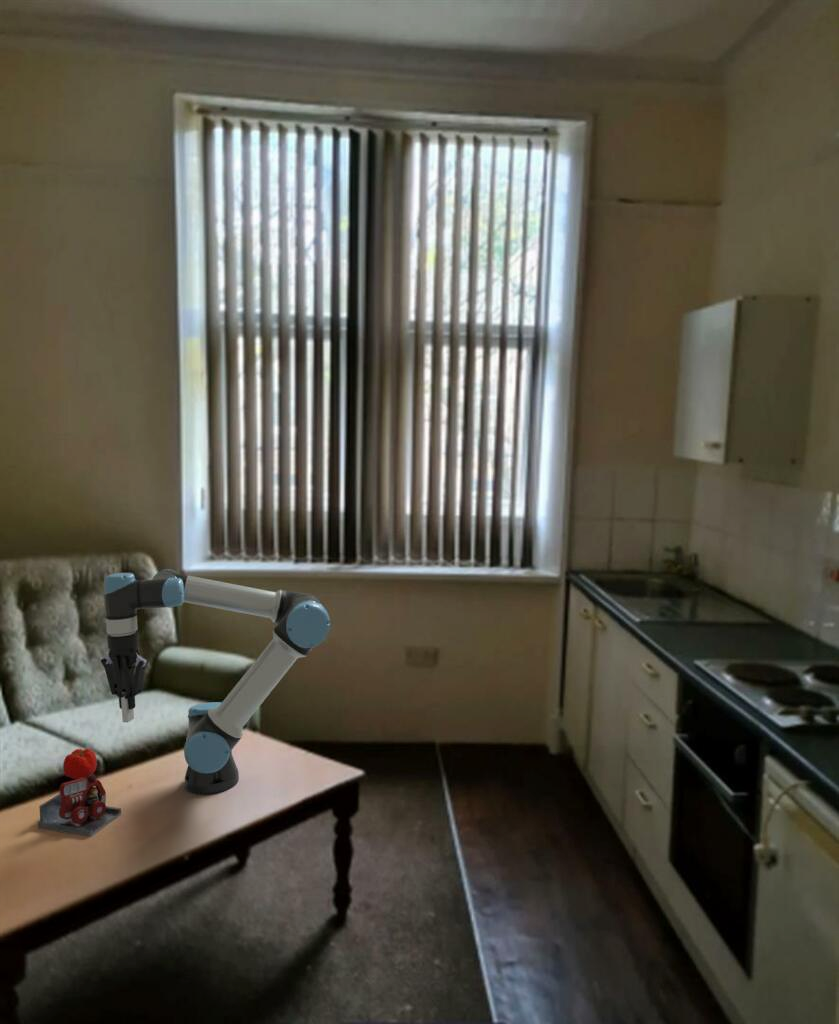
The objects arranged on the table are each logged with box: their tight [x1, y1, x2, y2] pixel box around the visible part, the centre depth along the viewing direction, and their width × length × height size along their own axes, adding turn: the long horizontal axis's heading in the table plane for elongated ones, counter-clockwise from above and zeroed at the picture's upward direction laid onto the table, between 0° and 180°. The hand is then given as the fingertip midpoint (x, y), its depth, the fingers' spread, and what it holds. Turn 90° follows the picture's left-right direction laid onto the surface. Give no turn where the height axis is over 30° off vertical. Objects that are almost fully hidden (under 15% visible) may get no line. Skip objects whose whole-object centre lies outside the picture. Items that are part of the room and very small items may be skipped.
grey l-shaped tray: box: [37, 793, 122, 837], centre depth 195 cm, size 16×12×6 cm
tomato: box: [62, 748, 98, 780], centre depth 222 cm, size 9×9×8 cm
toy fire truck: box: [59, 773, 107, 824], centre depth 194 cm, size 7×12×10 cm, turn 146°
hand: (128, 720), depth 197 cm, fingers closed
